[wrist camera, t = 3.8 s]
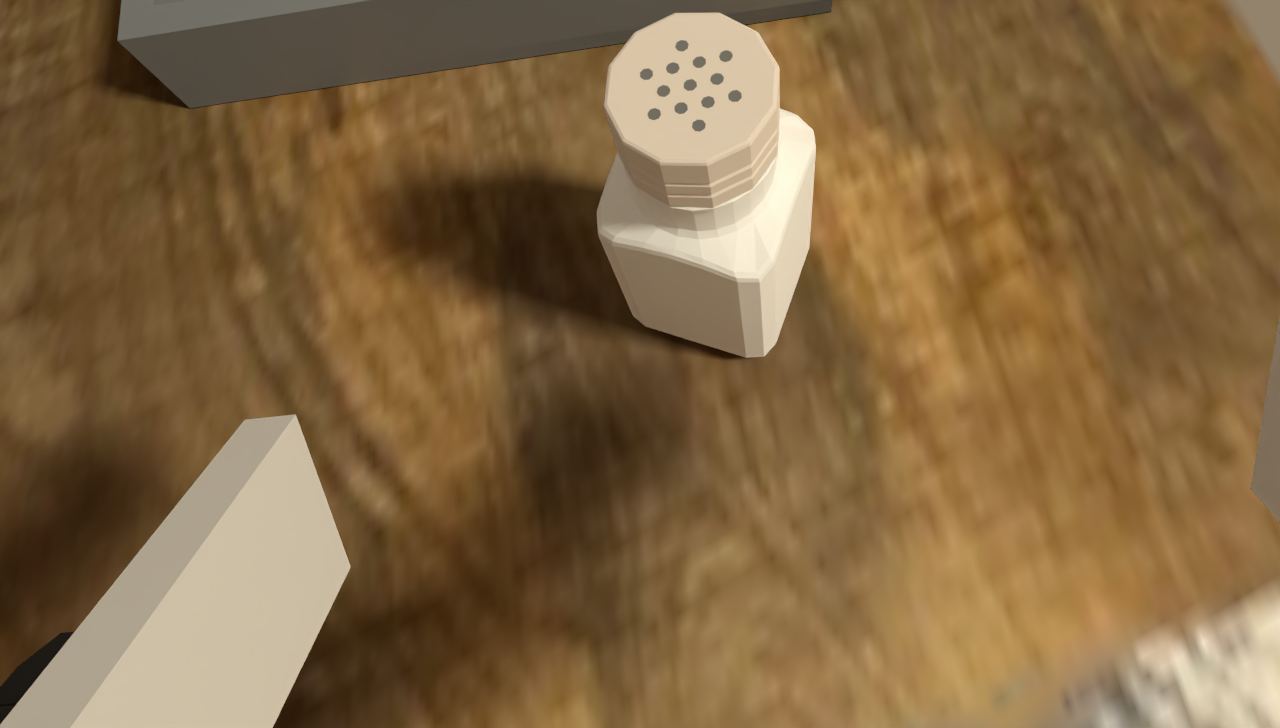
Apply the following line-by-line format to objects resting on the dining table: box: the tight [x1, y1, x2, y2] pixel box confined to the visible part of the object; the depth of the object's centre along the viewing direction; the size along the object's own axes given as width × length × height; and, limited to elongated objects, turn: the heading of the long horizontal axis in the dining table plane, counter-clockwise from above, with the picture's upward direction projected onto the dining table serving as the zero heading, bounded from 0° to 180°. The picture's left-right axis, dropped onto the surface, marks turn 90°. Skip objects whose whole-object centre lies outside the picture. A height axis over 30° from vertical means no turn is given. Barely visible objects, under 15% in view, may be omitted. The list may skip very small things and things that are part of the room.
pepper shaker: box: [596, 13, 816, 358], centre depth 22 cm, size 4×4×10 cm
